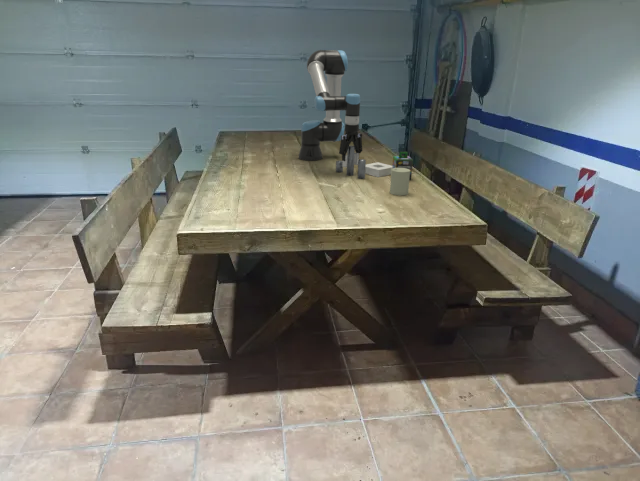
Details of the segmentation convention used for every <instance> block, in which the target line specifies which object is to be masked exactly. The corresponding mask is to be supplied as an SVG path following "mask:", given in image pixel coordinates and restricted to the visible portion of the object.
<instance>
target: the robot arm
mask: <svg viewBox="0 0 640 481" xmlns="http://www.w3.org/2000/svg"><path fill="white" fill-rule="evenodd" d="M348 60H349V59H348V56H347V53H346V52H345V51H344V50H339V49H319V50H318V49H317V50H316V51H314V52H313V53H311V54H310V56H309V57H308V59H307V61H306V68H307V72H308V74H310V77H311V82H312V85H313V88H314V92H315V97H314V99H313V100H314V101H313V105H314V110H316V111H320V112H323V111H325V117H324V118H323V121H322V122H321V121H320V119H319V120H318V119H313V120H307V121H304V122H302V124H301V130H300V131H301V142H300V143H301V147H300V150H299V152H298V159H300V160H301V161H309V162H310V161H311V162H312V161H320V160H323V154H322V149H321V142H333V143H335V142H339V141H340V145H339V151H338V152H339V153H338V154H339V155H341V161H343V165H342V166H343V168H347V150H348V147H349V146H350V145H351V143H352V146H355V154H354V166H358V160H359V159H360V154H361V153H362V152H363V140H362V138H363V134H362V133H359V131H360V124H359V123H360V114H361V112H360V109H361V95H360V94H358V93H348V94H346V95H341V94H342V93H341V91H342V77H343V76H345V72H347V71H348V68H349V61H348ZM341 111H345V114H344V115H345V116H344V117H345V118H344V122H343V121H342V118H341V117H340V116H341V114H340V112H341ZM344 123H345V124H344Z"/></svg>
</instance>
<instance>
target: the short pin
mask: <svg viewBox="0 0 640 481" xmlns="http://www.w3.org/2000/svg"><path fill="white" fill-rule="evenodd" d="M342 165H343V161H342V160H336V161H335V173H341V174H342V173H343V172H344V167H343V166H342Z"/></svg>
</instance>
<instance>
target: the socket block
mask: <svg viewBox="0 0 640 481" xmlns="http://www.w3.org/2000/svg"><path fill="white" fill-rule="evenodd" d="M392 167H393V165H390V164H386V163H383V162H379V161H377V162H373V163H366V166H365V175H370V176H373V177H376V178H380V177H385V176H391V169H392Z"/></svg>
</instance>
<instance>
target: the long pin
mask: <svg viewBox="0 0 640 481" xmlns="http://www.w3.org/2000/svg"><path fill="white" fill-rule="evenodd" d="M355 153H356V152H355V146H354V145H349V147H348V150H347V153H346V155H347V167H346V176H351V177H352V176H354V174H355V172H354V171H355V164H354V154H355Z"/></svg>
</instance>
